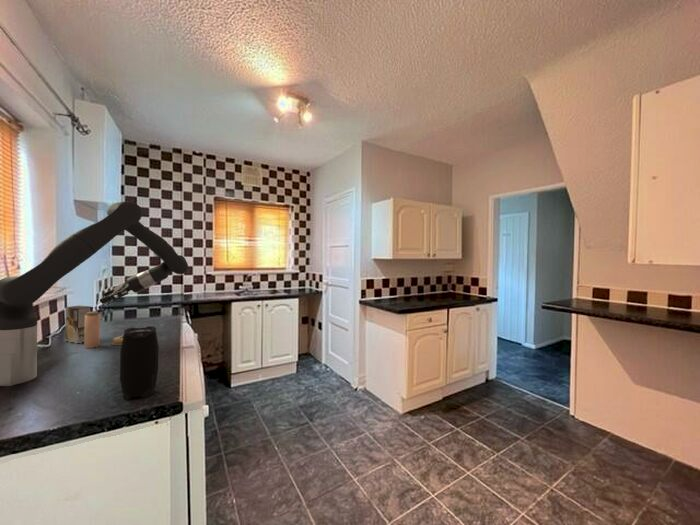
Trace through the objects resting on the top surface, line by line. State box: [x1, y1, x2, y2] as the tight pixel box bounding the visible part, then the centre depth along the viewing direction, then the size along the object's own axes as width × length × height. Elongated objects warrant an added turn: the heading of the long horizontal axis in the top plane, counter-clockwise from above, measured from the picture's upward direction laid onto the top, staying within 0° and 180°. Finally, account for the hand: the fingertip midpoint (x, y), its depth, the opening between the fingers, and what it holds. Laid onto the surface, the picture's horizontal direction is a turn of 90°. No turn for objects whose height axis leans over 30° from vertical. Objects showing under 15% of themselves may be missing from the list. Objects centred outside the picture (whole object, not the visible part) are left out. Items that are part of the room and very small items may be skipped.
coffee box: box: [64, 305, 94, 344], centre depth 142 cm, size 9×6×16 cm
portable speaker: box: [119, 325, 160, 401], centre depth 91 cm, size 9×9×20 cm
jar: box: [83, 310, 101, 349], centre depth 135 cm, size 5×5×15 cm
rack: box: [110, 334, 124, 346], centre depth 145 cm, size 12×10×2 cm
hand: (102, 298), depth 134 cm, fingers open, 8 cm apart
